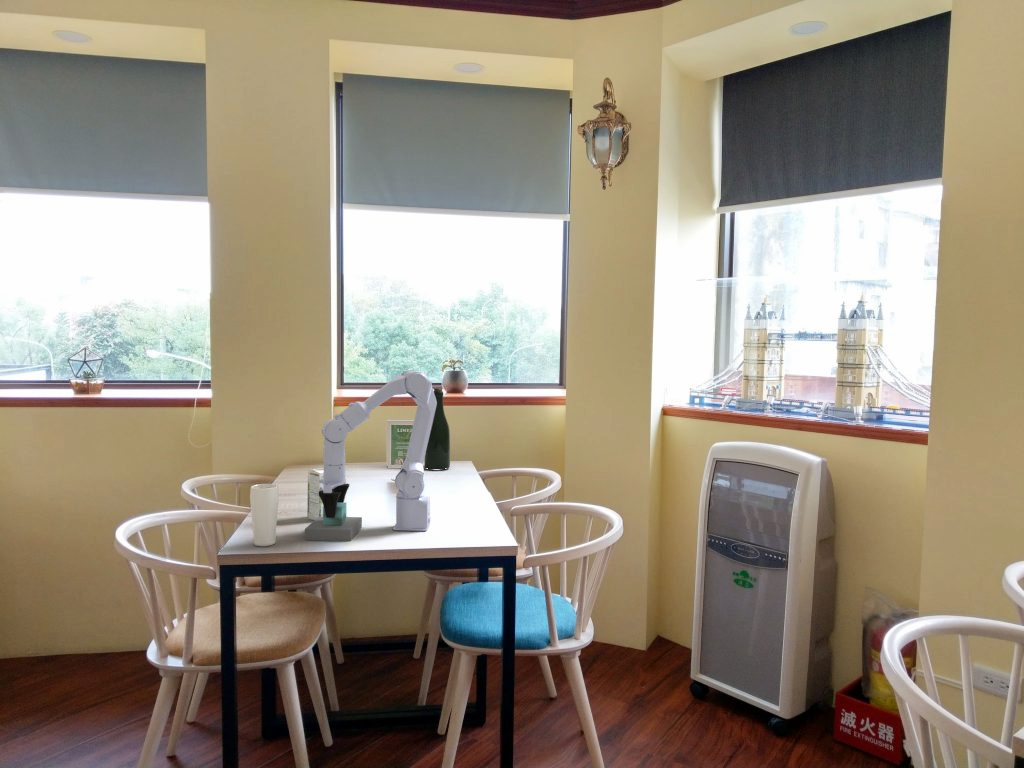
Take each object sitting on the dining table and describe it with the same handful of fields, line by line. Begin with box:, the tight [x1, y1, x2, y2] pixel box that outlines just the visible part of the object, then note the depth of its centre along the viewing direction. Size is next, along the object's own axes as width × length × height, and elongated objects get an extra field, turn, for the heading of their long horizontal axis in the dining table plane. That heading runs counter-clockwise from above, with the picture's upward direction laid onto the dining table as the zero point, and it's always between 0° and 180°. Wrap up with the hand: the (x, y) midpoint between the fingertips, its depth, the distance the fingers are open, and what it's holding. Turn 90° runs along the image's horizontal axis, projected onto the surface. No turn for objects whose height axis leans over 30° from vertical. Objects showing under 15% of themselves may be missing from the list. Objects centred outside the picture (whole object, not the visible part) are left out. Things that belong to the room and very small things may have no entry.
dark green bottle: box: [423, 387, 451, 469], centre depth 292 cm, size 10×10×33 cm
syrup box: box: [307, 467, 324, 521], centre depth 210 cm, size 6×6×14 cm
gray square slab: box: [304, 516, 363, 542], centre depth 195 cm, size 12×13×3 cm
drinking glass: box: [249, 483, 279, 547], centre depth 183 cm, size 7×7×15 cm
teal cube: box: [323, 502, 347, 525], centre depth 194 cm, size 5×5×5 cm
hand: (334, 514), depth 194 cm, fingers open, 7 cm apart
